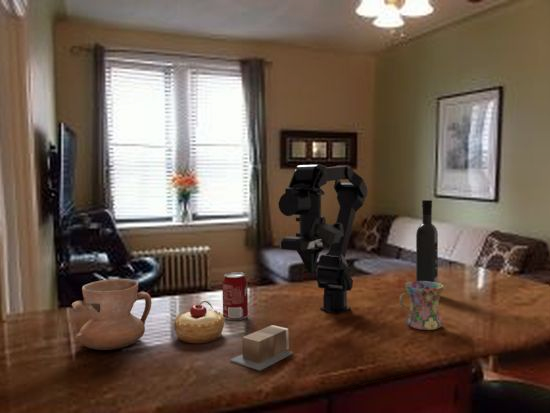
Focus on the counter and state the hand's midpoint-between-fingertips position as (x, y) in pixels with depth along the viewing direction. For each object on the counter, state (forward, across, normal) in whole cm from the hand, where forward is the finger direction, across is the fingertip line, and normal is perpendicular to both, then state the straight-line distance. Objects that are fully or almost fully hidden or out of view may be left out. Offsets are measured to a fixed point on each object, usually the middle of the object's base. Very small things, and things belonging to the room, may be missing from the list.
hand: (310, 273), depth 122 cm
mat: (+13, -26, -5) cm, 30 cm away
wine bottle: (+13, +43, -15) cm, 47 cm away
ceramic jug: (+13, -40, +28) cm, 50 cm away
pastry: (+13, -25, +16) cm, 32 cm away
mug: (+13, +12, -24) cm, 30 cm away
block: (+10, -20, -5) cm, 23 cm away
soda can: (+13, -9, +19) cm, 25 cm away
